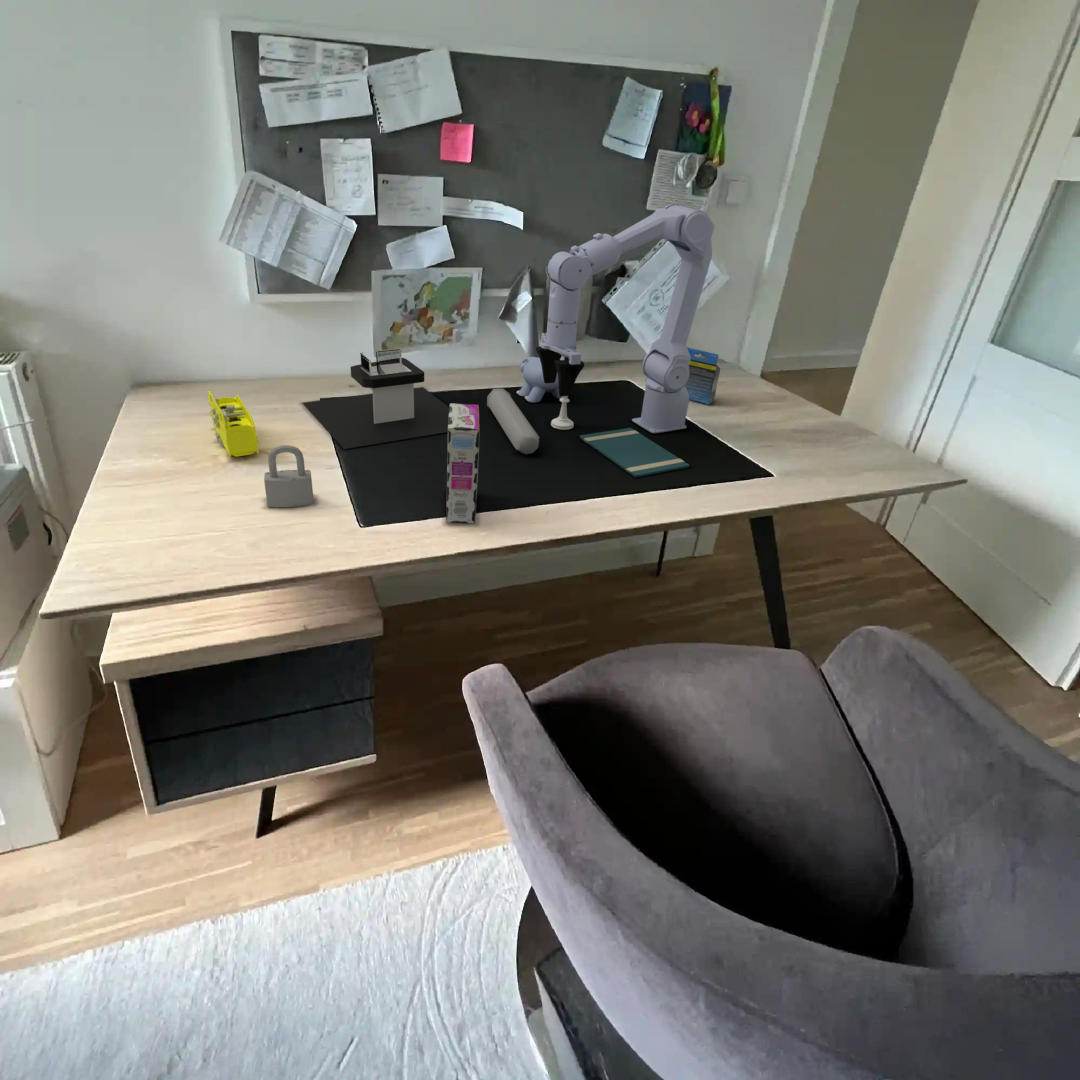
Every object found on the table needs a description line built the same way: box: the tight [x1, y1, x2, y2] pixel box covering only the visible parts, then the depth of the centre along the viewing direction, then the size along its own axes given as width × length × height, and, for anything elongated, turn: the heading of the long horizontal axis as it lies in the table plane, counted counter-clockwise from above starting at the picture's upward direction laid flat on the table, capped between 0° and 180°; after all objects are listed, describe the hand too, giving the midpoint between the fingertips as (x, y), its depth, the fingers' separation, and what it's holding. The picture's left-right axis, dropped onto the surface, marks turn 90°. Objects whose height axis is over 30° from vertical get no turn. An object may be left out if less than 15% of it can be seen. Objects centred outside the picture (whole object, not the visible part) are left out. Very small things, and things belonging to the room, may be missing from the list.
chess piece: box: [550, 396, 575, 431], centre depth 153 cm, size 5×5×10 cm
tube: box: [486, 388, 540, 455], centre depth 149 cm, size 5×5×25 cm
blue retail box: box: [685, 346, 721, 406], centre depth 173 cm, size 9×4×12 cm, turn 58°
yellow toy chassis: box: [207, 390, 259, 458], centre depth 134 cm, size 16×6×8 cm, turn 31°
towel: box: [579, 427, 690, 478], centre depth 146 cm, size 13×20×1 cm, turn 29°
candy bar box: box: [445, 403, 481, 525], centre depth 117 cm, size 11×5×16 cm, turn 5°
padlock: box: [263, 444, 315, 508], centre depth 116 cm, size 7×4×10 cm, turn 107°
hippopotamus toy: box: [516, 356, 569, 403], centre depth 169 cm, size 11×15×10 cm
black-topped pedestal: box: [302, 347, 450, 450], centre depth 150 cm, size 28×26×13 cm
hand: (556, 389), depth 145 cm, fingers open, 7 cm apart
